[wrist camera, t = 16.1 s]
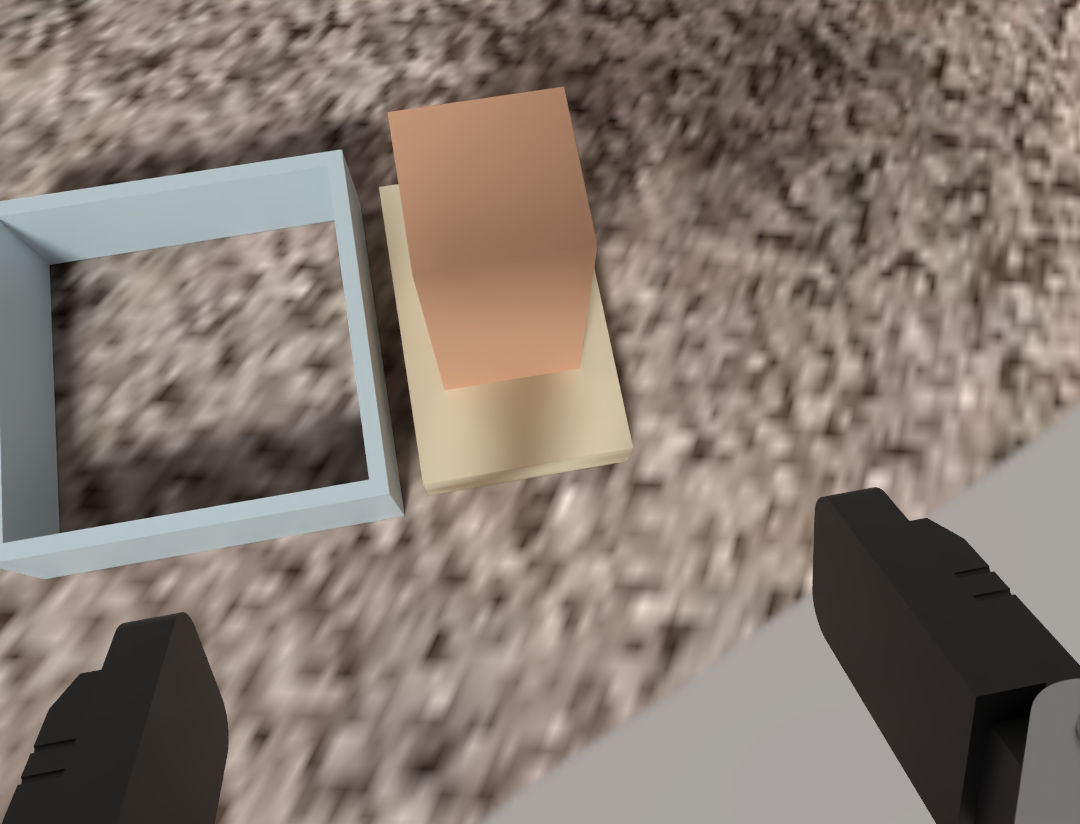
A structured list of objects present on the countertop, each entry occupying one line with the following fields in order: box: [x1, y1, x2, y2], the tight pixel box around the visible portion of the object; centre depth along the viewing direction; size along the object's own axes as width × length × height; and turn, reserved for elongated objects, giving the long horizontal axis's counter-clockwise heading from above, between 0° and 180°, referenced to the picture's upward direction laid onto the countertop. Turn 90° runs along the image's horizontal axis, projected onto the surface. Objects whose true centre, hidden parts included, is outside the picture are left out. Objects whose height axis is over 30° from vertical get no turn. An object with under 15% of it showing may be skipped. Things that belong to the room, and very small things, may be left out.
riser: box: [379, 184, 633, 496], centre depth 37 cm, size 8×12×2 cm, turn 10°
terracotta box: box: [388, 87, 598, 390], centre depth 31 cm, size 5×5×10 cm
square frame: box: [0, 149, 405, 579], centre depth 35 cm, size 13×13×4 cm
